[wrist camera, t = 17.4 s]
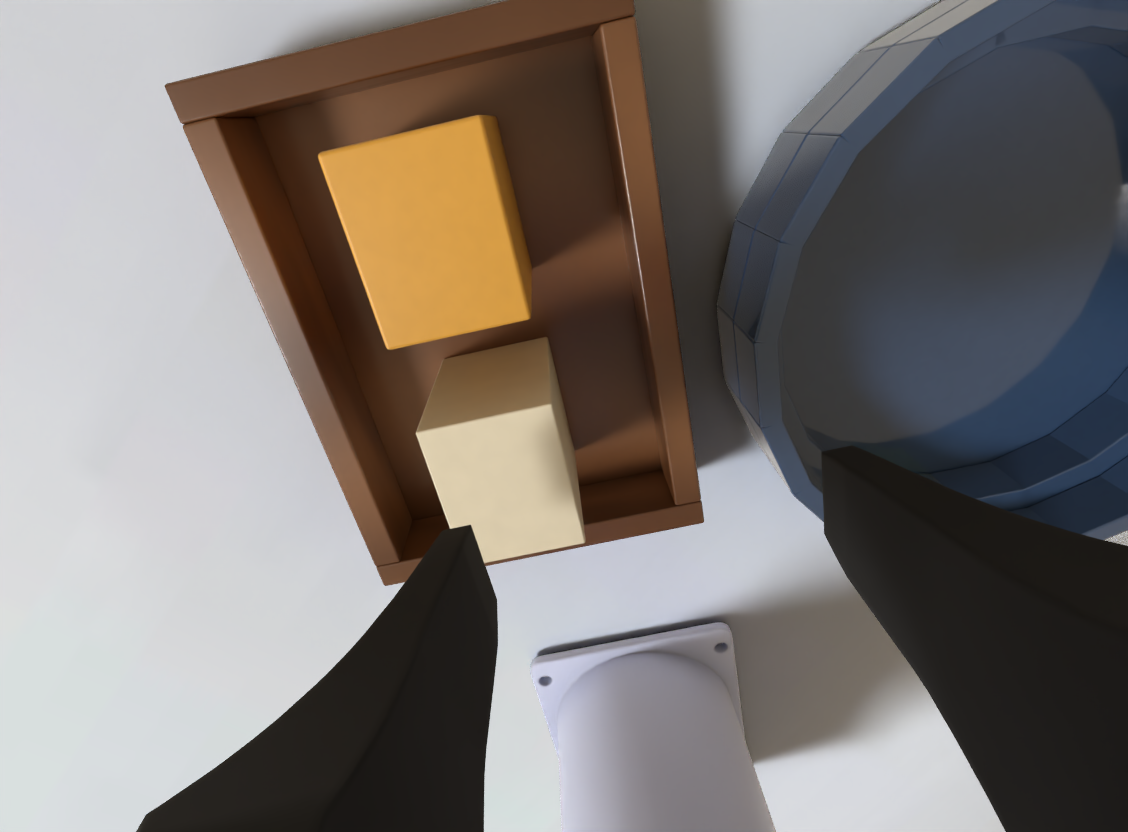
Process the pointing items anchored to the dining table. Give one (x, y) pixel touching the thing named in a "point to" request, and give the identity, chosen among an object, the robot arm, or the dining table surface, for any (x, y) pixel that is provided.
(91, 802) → the dining table surface
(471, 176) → the block
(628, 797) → the robot arm
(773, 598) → the dining table surface
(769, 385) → the bowl
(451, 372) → the packet cream
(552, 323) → the holder
